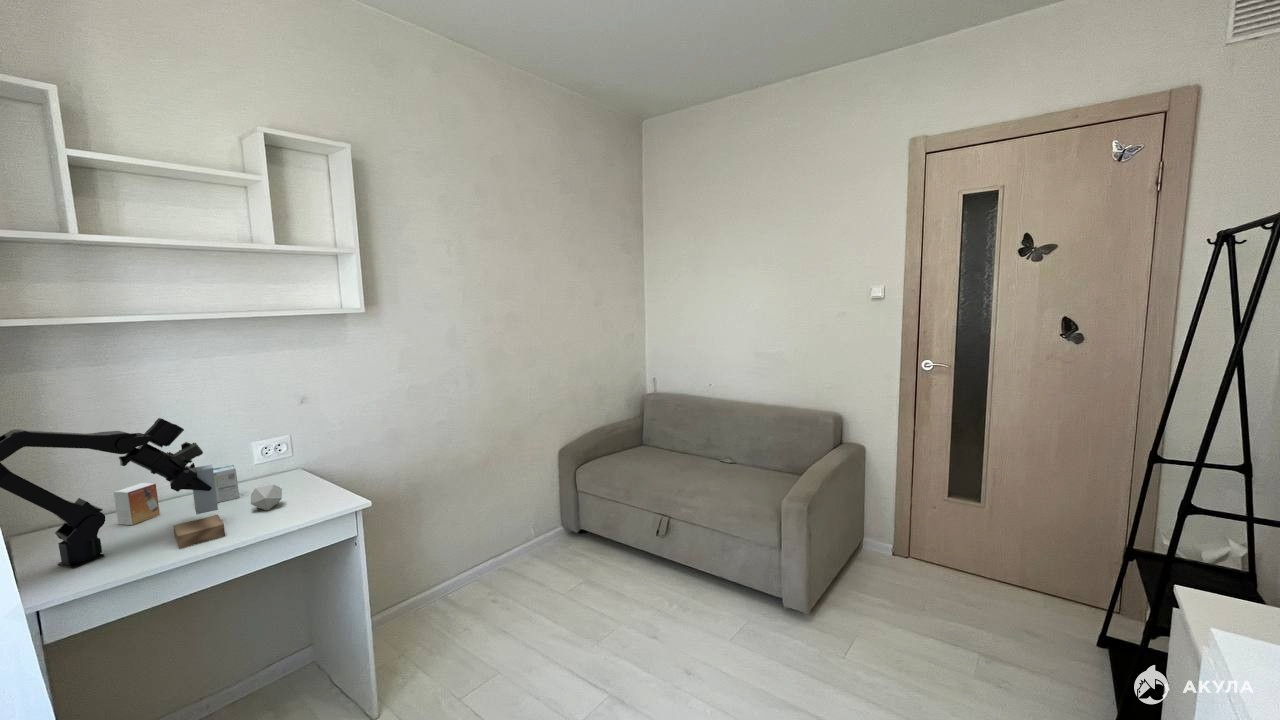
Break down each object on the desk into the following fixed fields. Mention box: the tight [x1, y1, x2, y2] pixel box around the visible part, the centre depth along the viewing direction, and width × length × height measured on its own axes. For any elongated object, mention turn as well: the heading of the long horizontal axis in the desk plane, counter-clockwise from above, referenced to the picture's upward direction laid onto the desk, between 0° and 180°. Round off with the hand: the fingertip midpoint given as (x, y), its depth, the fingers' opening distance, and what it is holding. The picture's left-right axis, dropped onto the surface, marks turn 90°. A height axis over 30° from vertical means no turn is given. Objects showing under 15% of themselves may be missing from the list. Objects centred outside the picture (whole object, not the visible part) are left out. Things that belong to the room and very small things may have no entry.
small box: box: [113, 482, 161, 526], centre depth 161 cm, size 8×6×10 cm
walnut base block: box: [172, 514, 226, 550], centre depth 149 cm, size 10×10×4 cm
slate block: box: [192, 464, 219, 515], centre depth 156 cm, size 5×5×13 cm
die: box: [250, 481, 283, 511], centre depth 169 cm, size 8×9×10 cm
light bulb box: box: [213, 463, 240, 504], centre depth 176 cm, size 11×7×11 cm, turn 135°
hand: (210, 487), depth 157 cm, fingers closed on slate block, 5 cm apart
